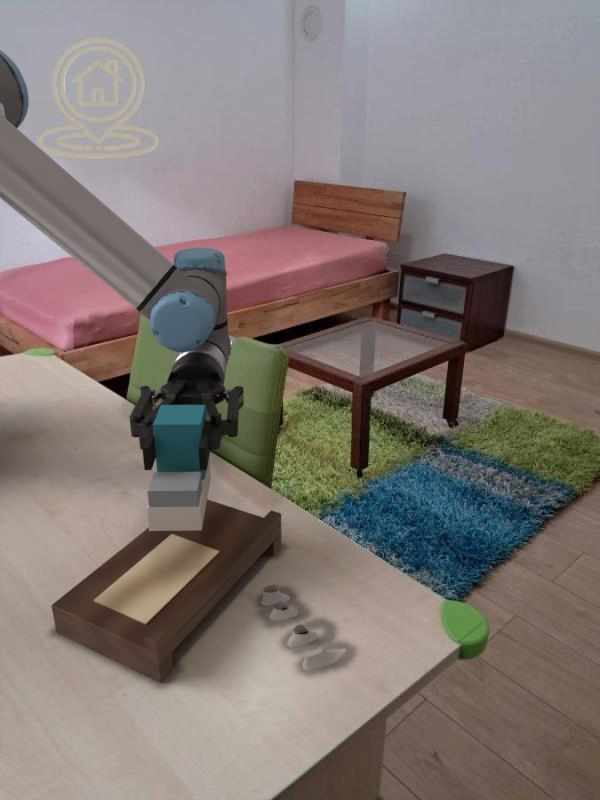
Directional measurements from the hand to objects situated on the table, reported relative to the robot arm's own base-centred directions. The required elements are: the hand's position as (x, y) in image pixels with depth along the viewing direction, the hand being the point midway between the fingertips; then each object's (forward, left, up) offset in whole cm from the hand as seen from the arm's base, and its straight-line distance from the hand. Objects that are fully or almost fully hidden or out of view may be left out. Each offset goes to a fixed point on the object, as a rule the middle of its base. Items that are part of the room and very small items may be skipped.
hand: (174, 458), depth 68 cm
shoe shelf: (0, -1, -18) cm, 18 cm away
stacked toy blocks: (-1, +2, -7) cm, 8 cm away
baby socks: (+15, 0, -18) cm, 23 cm away
